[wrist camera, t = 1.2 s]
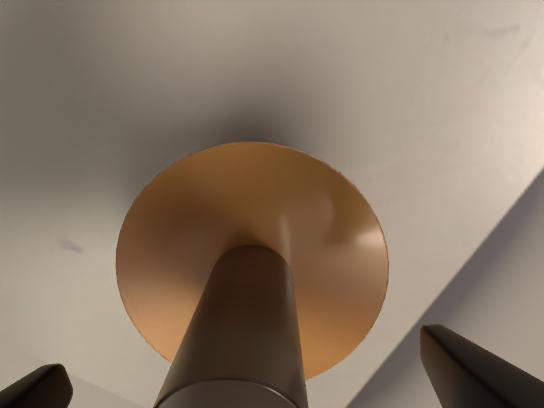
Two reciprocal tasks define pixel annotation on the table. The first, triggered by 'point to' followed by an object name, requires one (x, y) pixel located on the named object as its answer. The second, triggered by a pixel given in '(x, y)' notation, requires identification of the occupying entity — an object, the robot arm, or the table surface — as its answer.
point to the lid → (250, 274)
